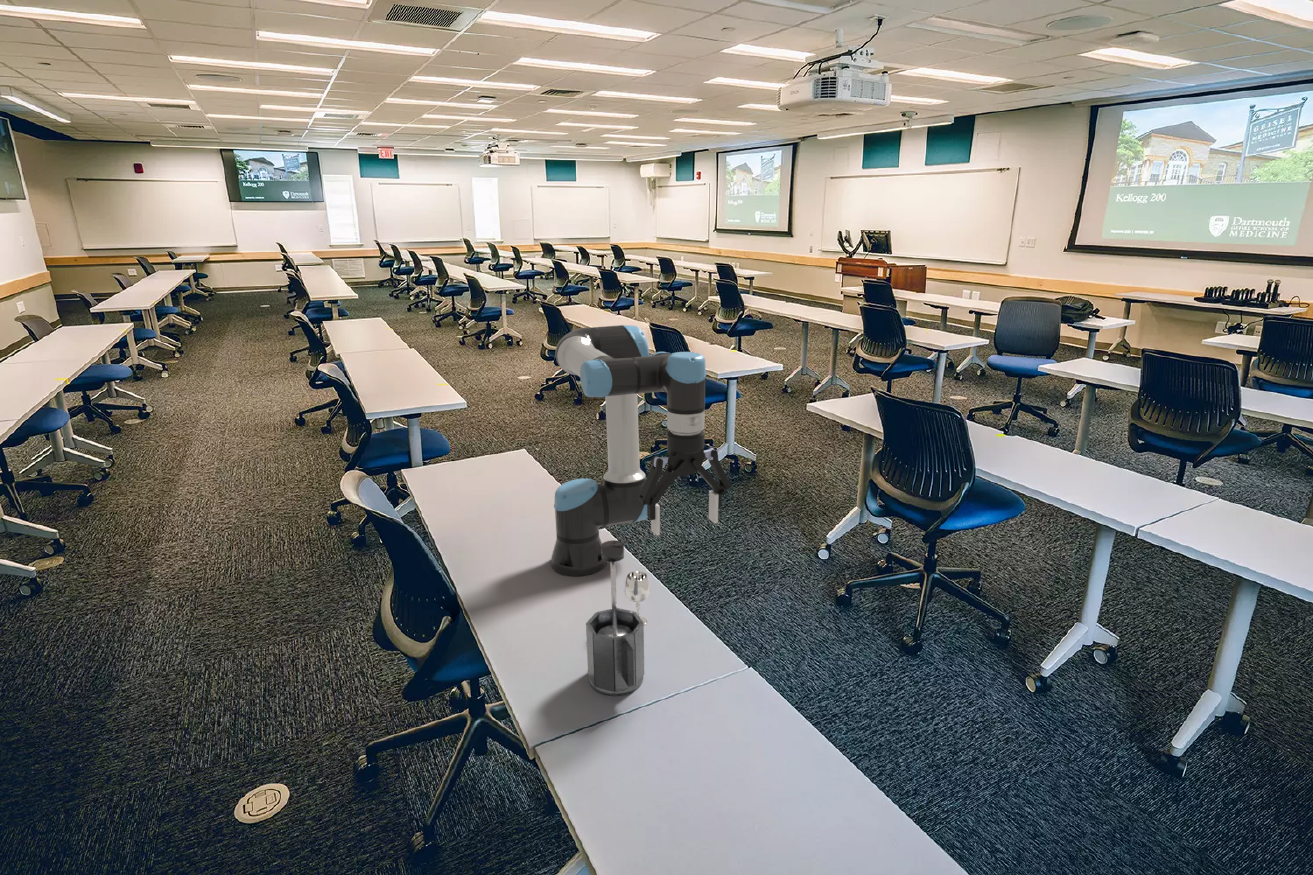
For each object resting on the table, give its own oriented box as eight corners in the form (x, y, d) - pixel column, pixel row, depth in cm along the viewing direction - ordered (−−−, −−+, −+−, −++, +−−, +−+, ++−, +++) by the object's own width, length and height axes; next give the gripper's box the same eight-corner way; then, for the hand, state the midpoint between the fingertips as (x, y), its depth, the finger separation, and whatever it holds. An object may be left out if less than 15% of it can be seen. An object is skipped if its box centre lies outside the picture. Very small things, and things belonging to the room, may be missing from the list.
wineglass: (638, 612, 166) (637, 567, 163) (655, 621, 162) (654, 575, 159) (620, 621, 162) (619, 576, 159) (637, 631, 159) (636, 584, 155)
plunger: (592, 632, 141) (588, 541, 135) (625, 624, 144) (623, 534, 138) (604, 651, 135) (600, 556, 129) (638, 642, 137) (636, 549, 131)
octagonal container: (582, 669, 145) (579, 615, 141) (631, 656, 149) (630, 603, 145) (604, 711, 132) (602, 652, 129) (657, 695, 137) (657, 639, 133)
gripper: (636, 444, 130) (637, 545, 136) (748, 427, 140) (745, 522, 146) (621, 433, 136) (623, 530, 143) (729, 418, 146) (727, 509, 153)
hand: (684, 526), depth 144 cm, fingers open, 13 cm apart
